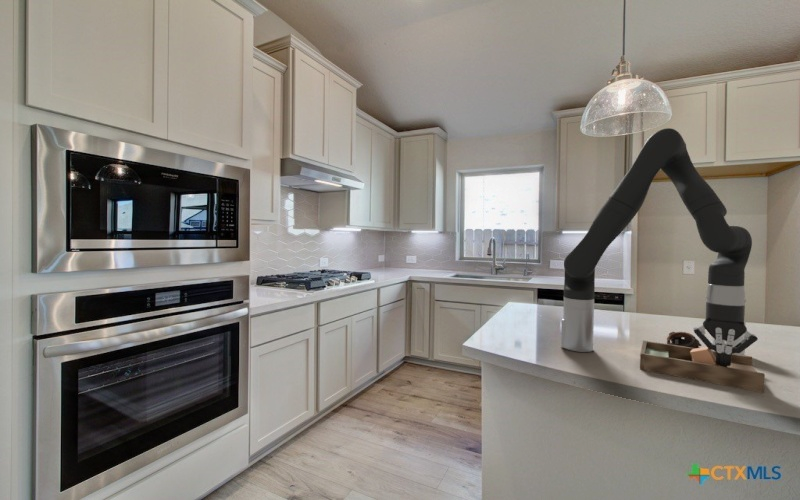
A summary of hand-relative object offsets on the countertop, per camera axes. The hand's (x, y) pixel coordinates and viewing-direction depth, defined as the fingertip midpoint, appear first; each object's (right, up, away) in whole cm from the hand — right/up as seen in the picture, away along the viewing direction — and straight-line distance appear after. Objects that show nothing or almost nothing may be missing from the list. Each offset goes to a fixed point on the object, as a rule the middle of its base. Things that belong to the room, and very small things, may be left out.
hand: (722, 366), depth 94 cm
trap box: (-2, -3, +6) cm, 7 cm away
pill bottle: (+21, -3, +21) cm, 30 cm away
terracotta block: (-2, 0, +2) cm, 3 cm away
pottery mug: (+6, -3, +21) cm, 22 cm away
